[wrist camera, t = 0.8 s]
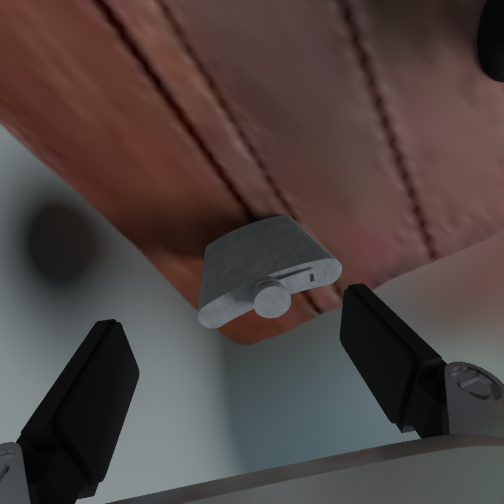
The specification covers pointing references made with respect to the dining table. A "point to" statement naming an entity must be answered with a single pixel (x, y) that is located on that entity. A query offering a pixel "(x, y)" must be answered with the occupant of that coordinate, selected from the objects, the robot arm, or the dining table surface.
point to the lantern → (492, 39)
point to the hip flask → (261, 270)
